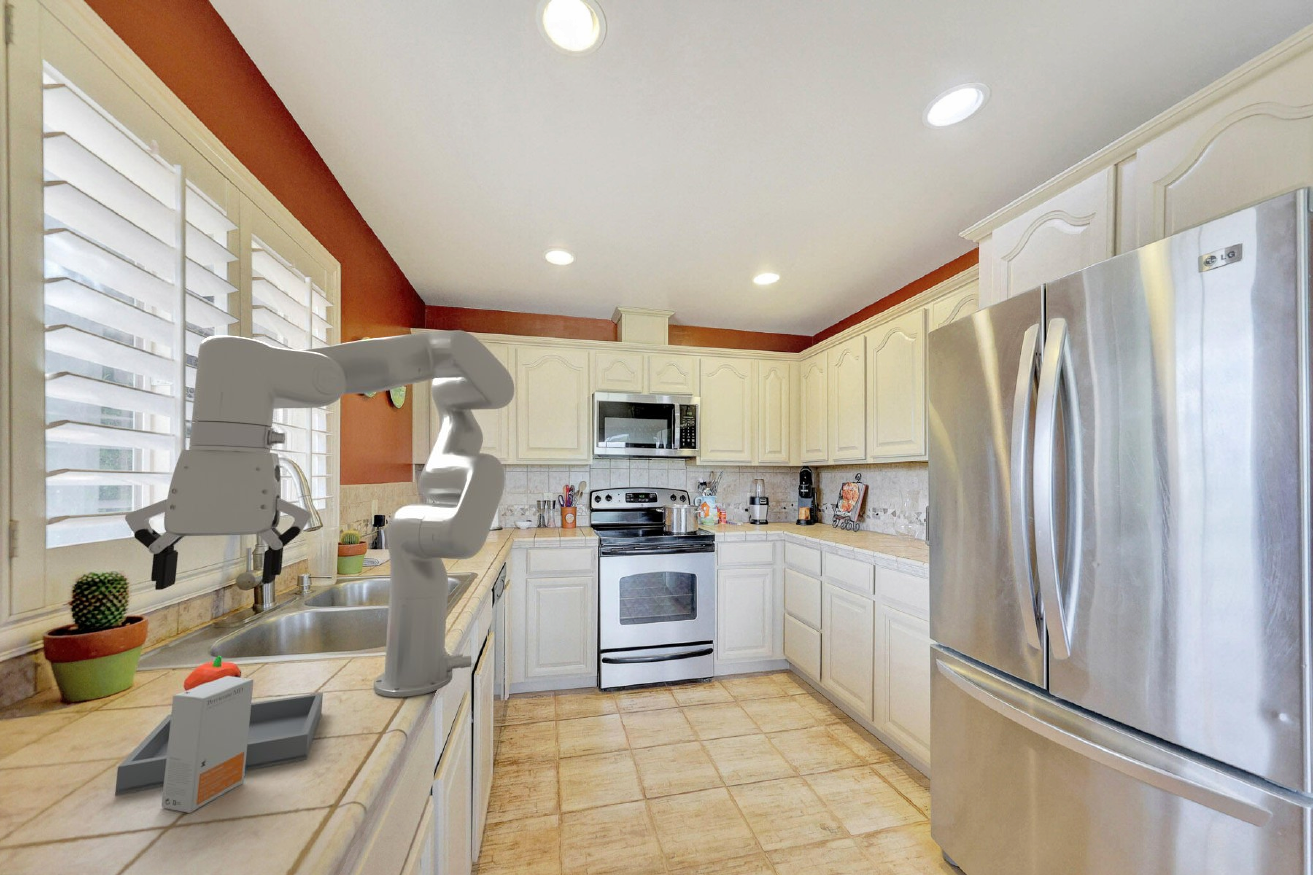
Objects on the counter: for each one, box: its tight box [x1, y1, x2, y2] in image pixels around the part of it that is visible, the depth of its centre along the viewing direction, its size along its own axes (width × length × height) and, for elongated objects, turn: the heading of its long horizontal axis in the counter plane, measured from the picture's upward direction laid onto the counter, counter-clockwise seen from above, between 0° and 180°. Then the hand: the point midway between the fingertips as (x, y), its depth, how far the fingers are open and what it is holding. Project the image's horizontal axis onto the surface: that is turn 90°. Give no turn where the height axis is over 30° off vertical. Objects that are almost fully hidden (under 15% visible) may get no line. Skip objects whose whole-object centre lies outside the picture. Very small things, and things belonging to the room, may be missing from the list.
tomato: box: [183, 655, 242, 691], centre depth 84 cm, size 7×8×6 cm
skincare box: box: [161, 676, 254, 814], centre depth 58 cm, size 6×4×12 cm
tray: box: [114, 692, 324, 797], centre depth 68 cm, size 18×14×3 cm
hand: (218, 584), depth 60 cm, fingers open, 9 cm apart
